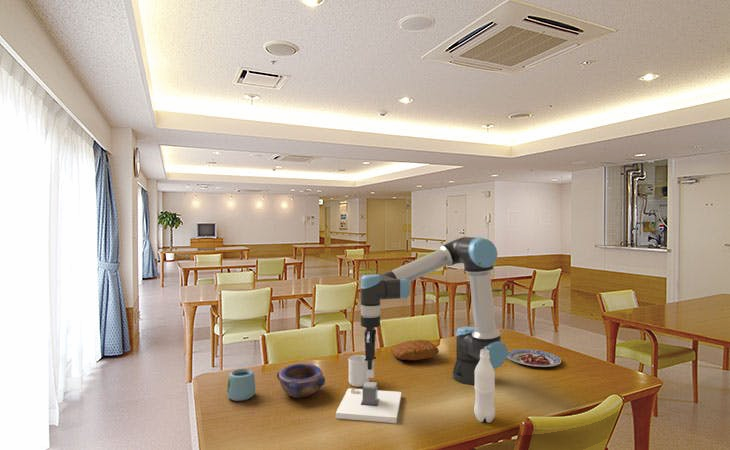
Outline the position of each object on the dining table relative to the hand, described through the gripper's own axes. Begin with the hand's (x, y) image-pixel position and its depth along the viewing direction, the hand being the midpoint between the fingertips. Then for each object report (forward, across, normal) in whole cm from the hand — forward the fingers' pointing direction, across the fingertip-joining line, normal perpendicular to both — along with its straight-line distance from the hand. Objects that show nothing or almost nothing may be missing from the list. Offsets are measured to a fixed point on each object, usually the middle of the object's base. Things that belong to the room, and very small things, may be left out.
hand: (370, 376), depth 158 cm
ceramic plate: (+12, -65, +74) cm, 99 cm away
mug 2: (+12, -23, -9) cm, 27 cm away
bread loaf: (+12, -58, +14) cm, 61 cm away
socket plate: (+12, 0, 0) cm, 12 cm away
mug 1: (+12, -2, -54) cm, 55 cm away
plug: (+12, 0, 0) cm, 12 cm away
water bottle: (+12, +3, +42) cm, 44 cm away
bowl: (+12, -7, -30) cm, 33 cm away
